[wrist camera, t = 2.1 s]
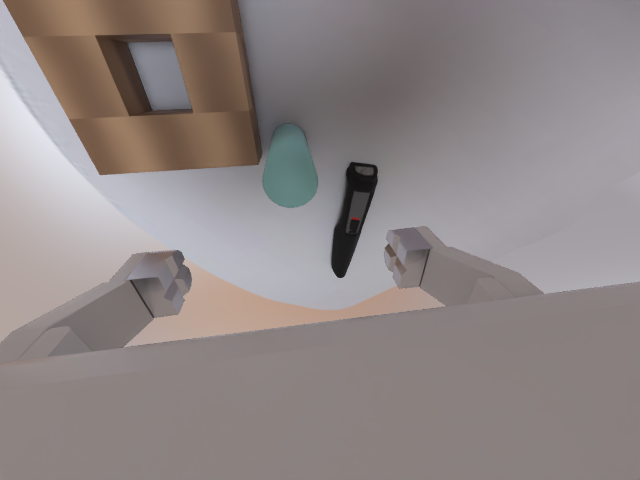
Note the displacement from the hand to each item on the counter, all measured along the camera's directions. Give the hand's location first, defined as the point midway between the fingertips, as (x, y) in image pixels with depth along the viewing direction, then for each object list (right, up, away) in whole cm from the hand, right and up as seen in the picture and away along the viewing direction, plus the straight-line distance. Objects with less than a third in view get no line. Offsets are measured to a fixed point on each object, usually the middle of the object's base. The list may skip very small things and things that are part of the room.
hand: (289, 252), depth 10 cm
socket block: (-12, +15, +12) cm, 23 cm away
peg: (-2, +11, +16) cm, 19 cm away
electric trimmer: (+5, +4, +23) cm, 23 cm away
